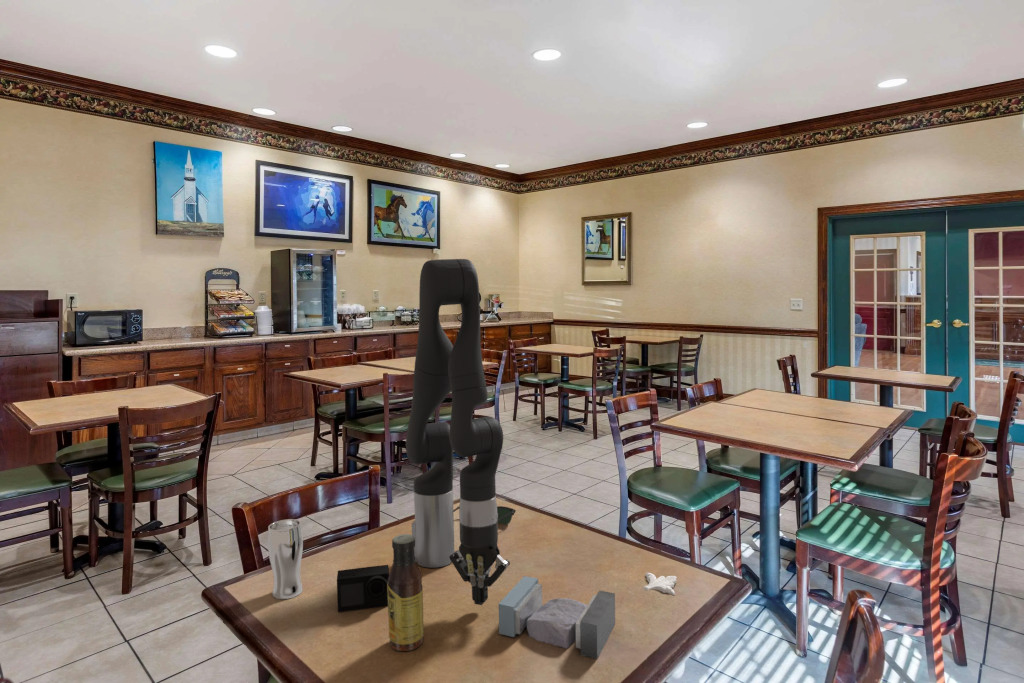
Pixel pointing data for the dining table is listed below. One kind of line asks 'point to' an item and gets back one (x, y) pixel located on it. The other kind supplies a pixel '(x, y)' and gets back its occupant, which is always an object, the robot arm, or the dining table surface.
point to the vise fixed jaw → (595, 624)
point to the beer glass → (286, 557)
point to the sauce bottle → (405, 596)
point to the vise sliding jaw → (519, 606)
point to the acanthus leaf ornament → (661, 583)
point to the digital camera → (362, 588)
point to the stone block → (556, 622)
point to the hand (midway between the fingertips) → (480, 602)
